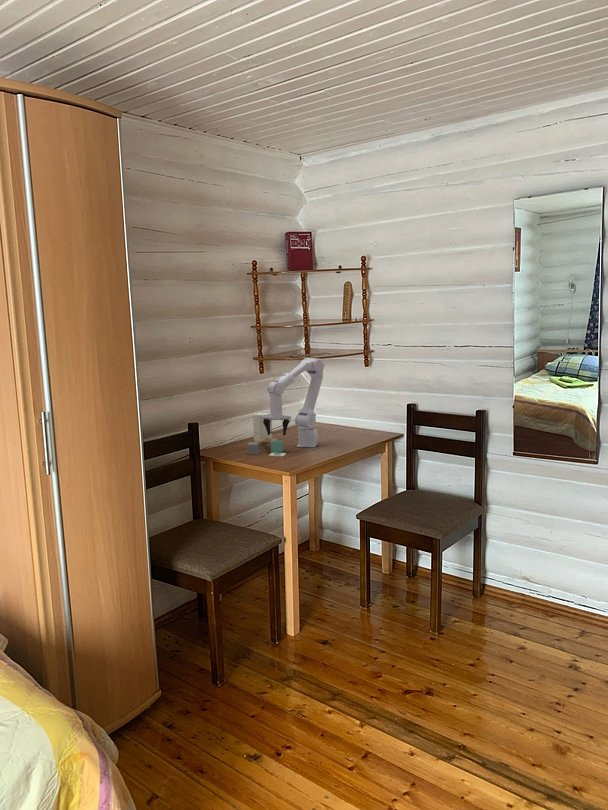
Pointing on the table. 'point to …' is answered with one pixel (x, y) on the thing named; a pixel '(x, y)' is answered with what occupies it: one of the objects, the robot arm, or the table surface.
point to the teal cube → (277, 446)
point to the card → (277, 454)
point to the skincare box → (260, 427)
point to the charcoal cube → (253, 448)
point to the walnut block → (266, 443)
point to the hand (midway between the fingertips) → (276, 434)
